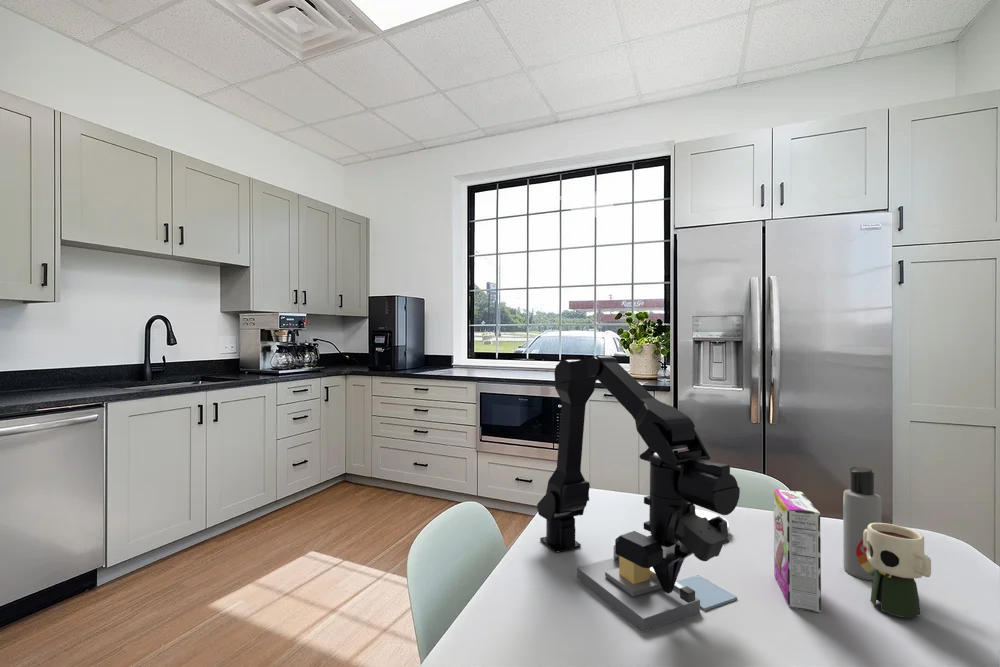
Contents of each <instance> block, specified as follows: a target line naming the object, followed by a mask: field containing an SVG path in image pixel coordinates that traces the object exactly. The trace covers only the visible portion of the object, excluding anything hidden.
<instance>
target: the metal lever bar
mask: <svg viewBox="0 0 1000 667" xmlns="http://www.w3.org/2000/svg"><path fill="white" fill-rule="evenodd" d="M613 558H614V559H615V560H618V561H619V555H617V554H615V544H614V545H613ZM650 576H651V577H653V578H654V579H656V580H657V581H659V580H658V578H657V576H656V573H655V571H654V569H653V567H650ZM673 591H675V592H676V593H678V594H679V595H680V598H681V599H683V600H684V601H686V602H687V603H690V602H693V601H695V591H694V590H693V589H691V588H689V587H688V586H686V587H683V586H682V585H680V584H679V583H677V582H675V585H674V588H673Z"/></svg>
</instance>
